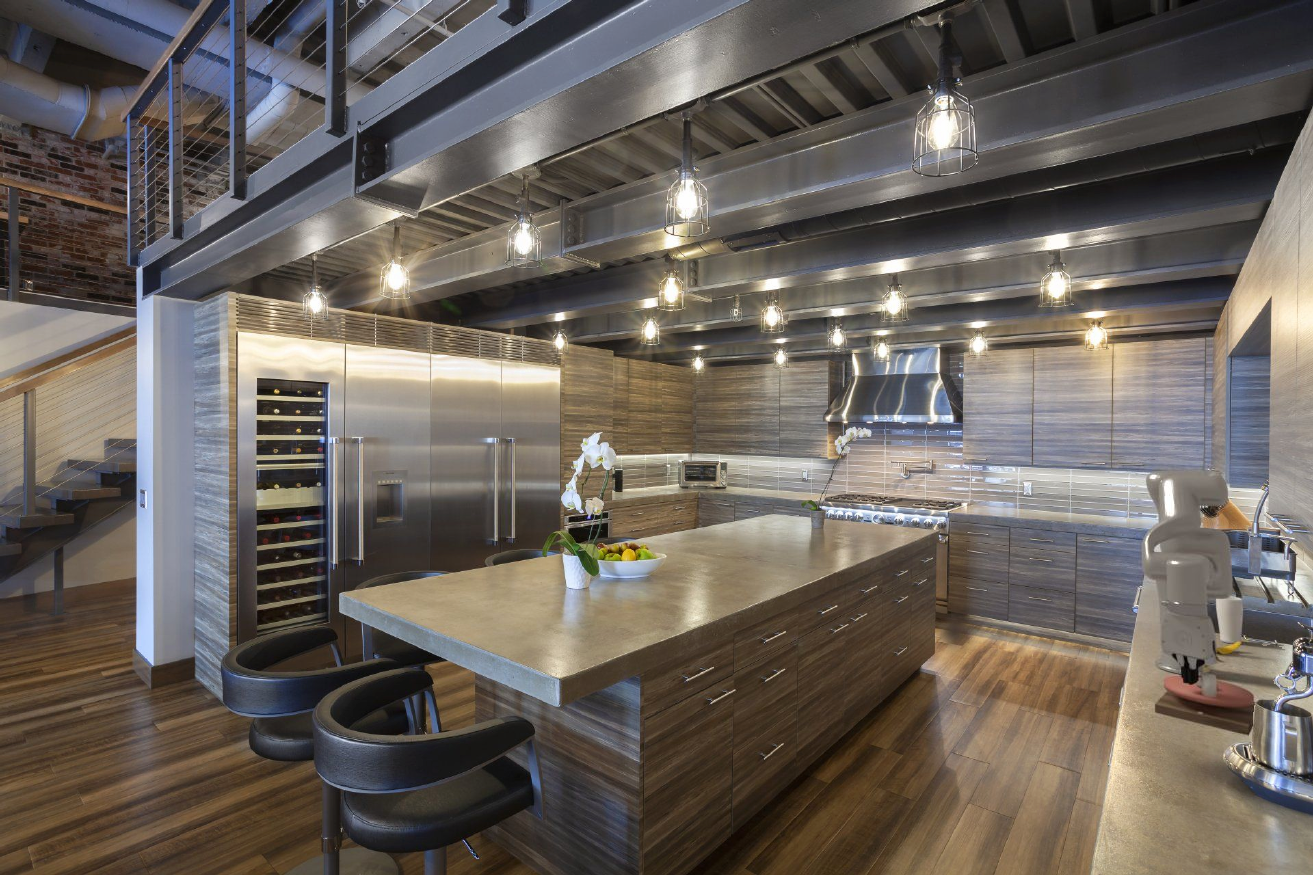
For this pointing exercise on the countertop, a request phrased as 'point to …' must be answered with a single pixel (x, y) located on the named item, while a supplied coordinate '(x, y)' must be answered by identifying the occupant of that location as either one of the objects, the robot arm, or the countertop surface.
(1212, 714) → the wheel base
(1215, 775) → the countertop surface
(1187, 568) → the robot arm
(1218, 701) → the handwheel
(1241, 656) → the countertop surface
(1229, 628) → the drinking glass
